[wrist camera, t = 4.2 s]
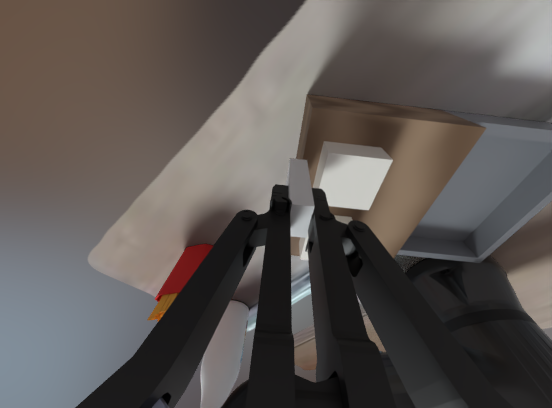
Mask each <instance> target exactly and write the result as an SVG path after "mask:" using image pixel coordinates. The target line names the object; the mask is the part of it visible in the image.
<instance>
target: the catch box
mask: <svg viewBox="0 0 552 408" xmlns="http://www.w3.org/2000/svg"><path fill="white" fill-rule="evenodd" d="M442 111H445V110H442ZM445 112H448V113H450V114H453V115H455V116H458V117H460V118H463V119H465V120H468V121H471V122H473V123H476V124H478V125H481V126H483V127H486V130H485V131H484V133H483V134H482V135H481V137H480V138H479V140H478V141H477V142H476V144H475V145H474V147H473V148H472V149H471V151H470V152H469V154H468V155H467V156H466V158H465V159H464V161H463V162H462V163H461V165H460V166H459V168H458V169H457V170H456V172H455V173H454V175H453V176H452V177H451V179H450V180H449V182H448V183H447V184H446V186H445V187H444V189H443V190H442V191H441V193H440V194H439V196H438V197H437V198H436V200H435V201H434V203H433V204H432V205H431V207H430V208H429V210H428V211H427V212H426V214H425V215H424V217H423V218H422V219H421V221H420V222H419V224H418V225H417V226H416V228H415V229H414V231H413V232H412V233H411V235H410V236H409V238H408V239H407V240H406V242H405V243H404V245H403V246H402V247H401V249H400V250H399V252H398V253H397V254H396V255H406V256H416V257H426V258H435V259H445V260H455V261H465V262H474V263H481V262H482V261H483V260H484V259H485V258H486V257H488V256H489V255H490V254H491V253H492V252H493V251H494V250H496V249H497V248H498V247H499V246H500V245H501V244H503V243H504V242H505V241H506V240H507V239H508V238H509V237H511V236H512V235H513V234H514V233H515V232H516V231H517V230H519V229H520V228H521V227H522V226H523V225H524V224H526V223H527V222H528V221H529V220H530V219H531V218H532V217H534V216H535V215H536V214H537V213H538V212H539V211H541V210H542V209H543V208H544V207H545V206H546V205H547V204H549V203H550V202H551V201H552V123H548V122H539V121H531V120H522V119H513V118H505V117H496V116H488V115H479V114H470V113H462V112H453V111H445Z"/></svg>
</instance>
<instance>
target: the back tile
mask: <svg viewBox="0 0 552 408" xmlns="http://www.w3.org/2000/svg"><path fill="white" fill-rule="evenodd" d="M334 216H335V218H336V220H337V221H339V222H342V223H345V224H348V223H349V222H350V221H352V217H346V216H337V215H334ZM307 241H308V234H307V238H302V237H300V241H299V251H300V259H301V260H308V249H307V252H305V249H306V245H307Z"/></svg>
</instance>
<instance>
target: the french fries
mask: <svg viewBox="0 0 552 408" xmlns="http://www.w3.org/2000/svg"><path fill="white" fill-rule="evenodd" d="M212 247H213V245H209V244H201V245H195V246H190V247H187V248H186V249H185V251H184V252H183V254H182V256H181V257H180V259H179V260H178V262H177V264H176V265H175V267H174V269H173V270H172V272H171V273H170V275H169V277H168V278H167V280H166V282H165V283H164V285H163V286H162V288H161V290H160V291H159V293H158V295H157V296H156V298H155V300H157V301H158V302H159V303H158V304H157V306H156V307H155V309H154V310H153V312H152V314H151V315H150V317H149V318H148V320H155V319H158V320H157V321H159V320H160V319H161V317H162V316H163V315H164V313H165V312H166V310H167V309H168V308H169V306H170V305H171V304H172V302H173V301H174V299H175V298H176V297H177V295H178V294H179V293H180V291H181V290H182V288H183V287H184V286H185V284H186V283H187V282H188V280H189V279H190V277H191V276H192V275H193V273H194V272H195V271H196V269H197V268H198V266H199V265H200V264H201V262H202V261H203V260H204V258H205V257H206V256H207V254H208V253H209V251H210V250H211V249H212Z"/></svg>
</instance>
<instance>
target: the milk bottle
mask: <svg viewBox="0 0 552 408" xmlns="http://www.w3.org/2000/svg"><path fill="white" fill-rule="evenodd" d="M248 315H249V309H248V307H247V306H246V305H245V304H244V303H241V302H238V301H234V300H230V302H229V304H228V306H227V308H226V310H225V312H224V314H223V316H222V318H221V320H220V322H219V325H218V327H217V329H216V331H215V333H214V335H213V337H212V339H211V341H210V343H209V345H208V347H207V349H206V351H205V353H204V357H203V361H202V366H201V391H202V394H201V405H200V408H221V406H222V405H223V404H224V402H225V401H226V400H227V398H228V396H229V393H230V391H231V389H232V387H233V385H234V384H235V381H236V379H237V377H238V374H239V370H240V366H241V360H242V354H243V348H244V342H245V335H246V329H247V322H248Z"/></svg>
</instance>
